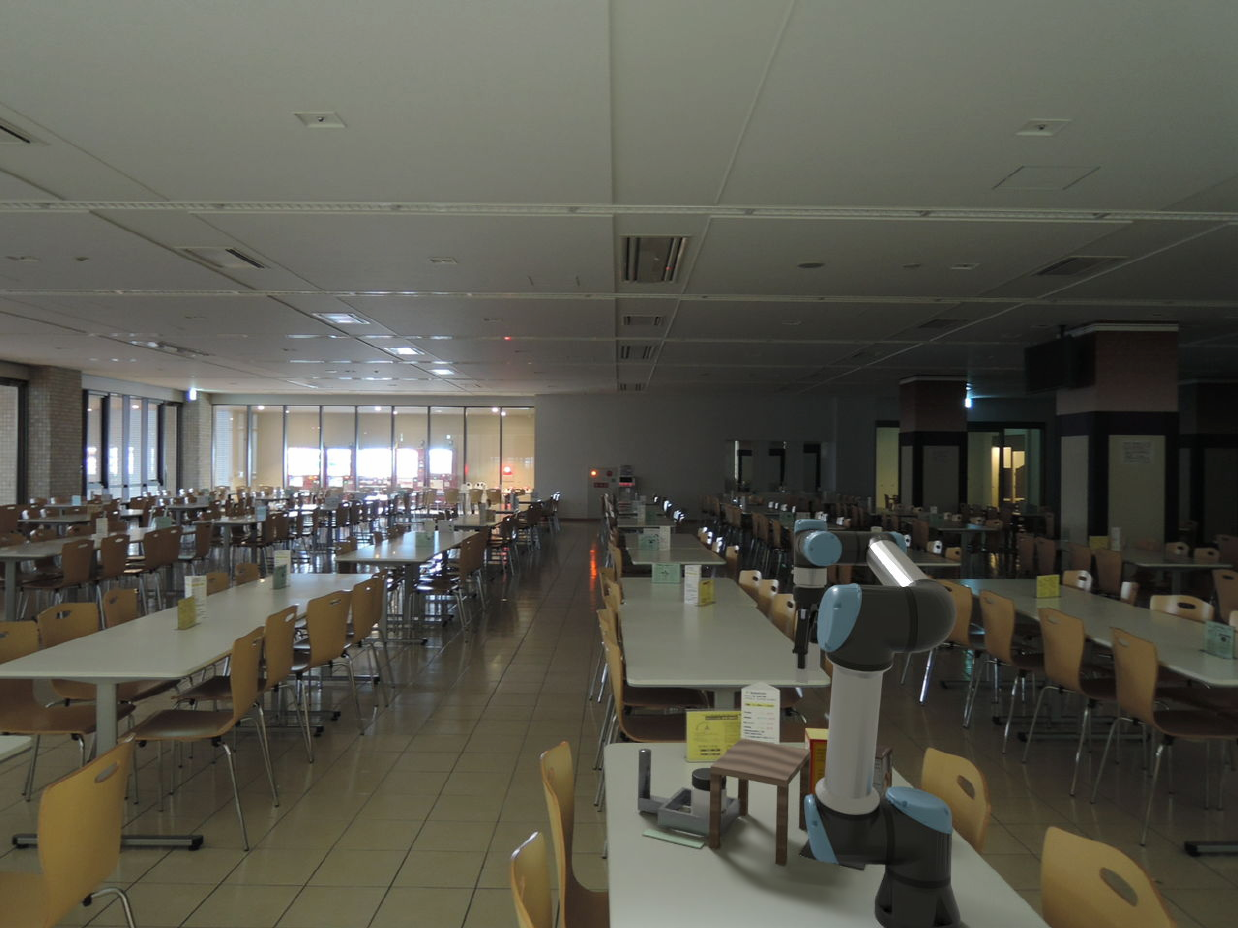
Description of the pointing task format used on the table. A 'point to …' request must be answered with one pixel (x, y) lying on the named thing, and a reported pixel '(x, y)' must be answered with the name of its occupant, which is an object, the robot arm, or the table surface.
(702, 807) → the jar
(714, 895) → the table surface
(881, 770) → the coffee box
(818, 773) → the baking soda box
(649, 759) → the sled
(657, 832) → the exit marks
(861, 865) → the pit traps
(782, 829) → the small wooden table
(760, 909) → the table surface
